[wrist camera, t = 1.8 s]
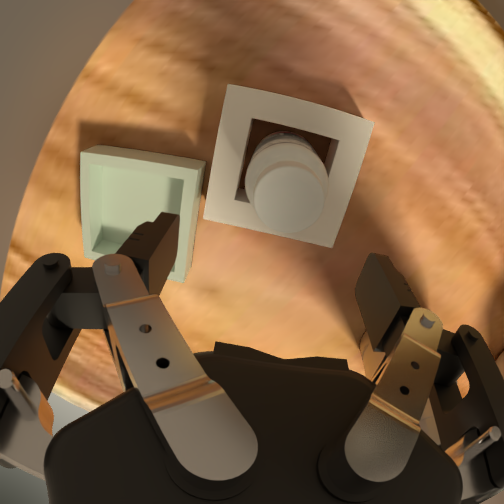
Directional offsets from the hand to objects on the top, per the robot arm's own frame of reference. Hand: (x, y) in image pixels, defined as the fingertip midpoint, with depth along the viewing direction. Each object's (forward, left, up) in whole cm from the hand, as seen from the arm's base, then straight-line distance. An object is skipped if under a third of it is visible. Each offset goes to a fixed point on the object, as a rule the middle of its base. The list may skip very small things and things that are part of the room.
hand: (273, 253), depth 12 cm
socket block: (-1, -1, -15) cm, 15 cm away
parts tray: (+11, +6, -15) cm, 20 cm away
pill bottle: (-1, -1, -15) cm, 15 cm away
